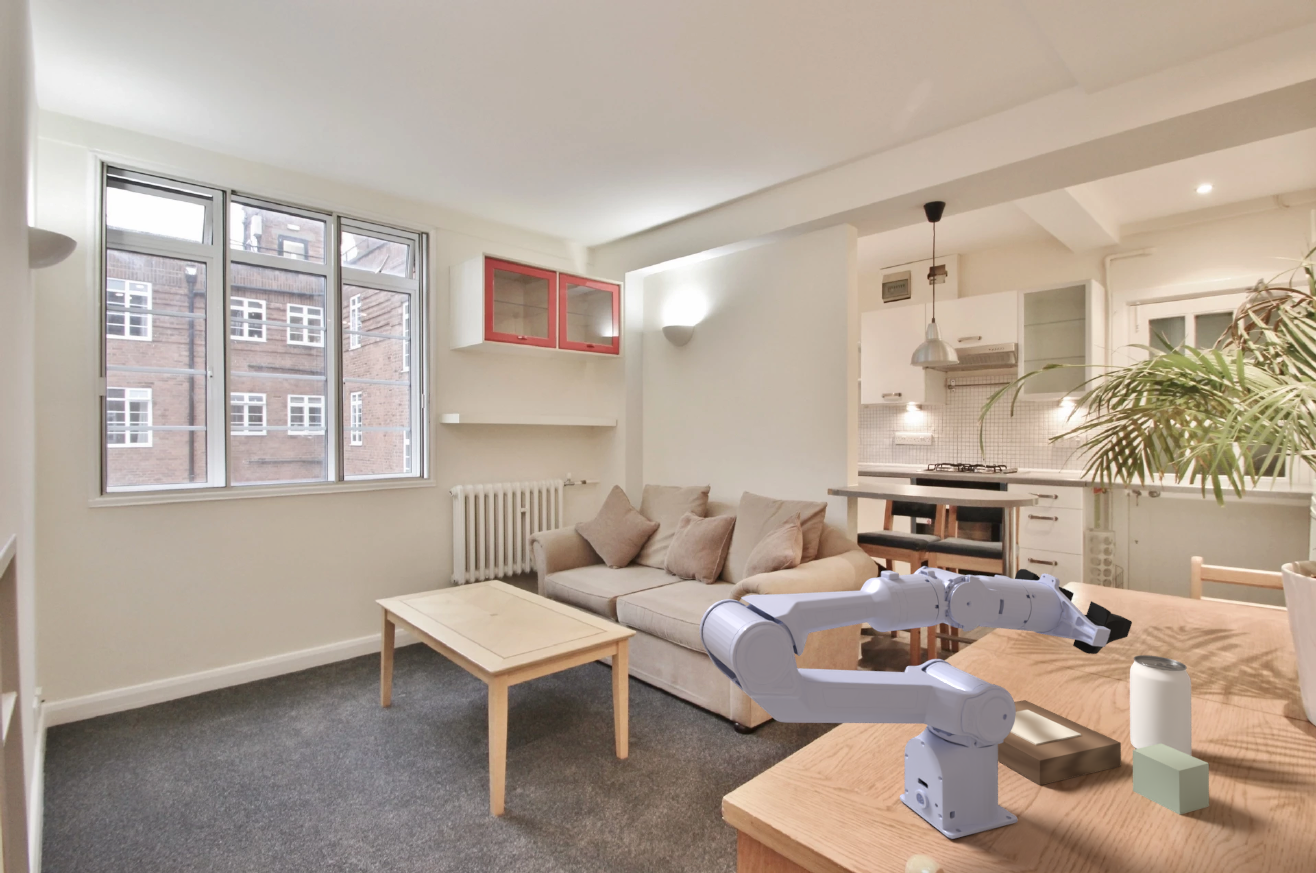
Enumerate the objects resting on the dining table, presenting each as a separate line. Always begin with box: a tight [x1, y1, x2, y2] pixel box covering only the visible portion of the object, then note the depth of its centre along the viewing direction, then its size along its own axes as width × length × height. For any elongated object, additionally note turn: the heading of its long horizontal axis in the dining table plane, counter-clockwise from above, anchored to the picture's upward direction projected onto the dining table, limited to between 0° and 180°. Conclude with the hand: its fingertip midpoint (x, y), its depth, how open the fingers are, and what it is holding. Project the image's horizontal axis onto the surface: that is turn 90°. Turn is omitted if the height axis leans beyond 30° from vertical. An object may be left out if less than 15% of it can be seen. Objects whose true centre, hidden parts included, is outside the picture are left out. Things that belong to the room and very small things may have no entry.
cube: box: [1132, 743, 1210, 816], centre depth 73 cm, size 5×5×5 cm
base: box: [998, 699, 1122, 786], centre depth 85 cm, size 14×14×3 cm
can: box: [1129, 654, 1193, 756], centre depth 84 cm, size 6×6×12 cm
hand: (1096, 613), depth 77 cm, fingers open, 7 cm apart
